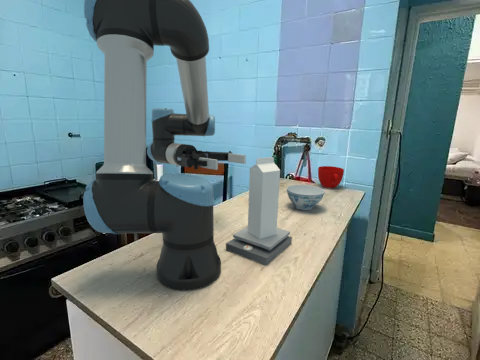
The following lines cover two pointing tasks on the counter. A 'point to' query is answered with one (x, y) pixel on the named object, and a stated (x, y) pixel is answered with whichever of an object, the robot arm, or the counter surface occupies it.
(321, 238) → the counter surface
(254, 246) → the kitchen scale
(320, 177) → the ceramic cup
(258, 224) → the milk
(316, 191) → the chinaware
